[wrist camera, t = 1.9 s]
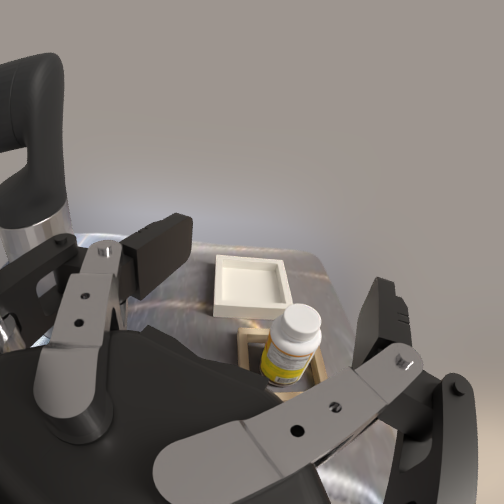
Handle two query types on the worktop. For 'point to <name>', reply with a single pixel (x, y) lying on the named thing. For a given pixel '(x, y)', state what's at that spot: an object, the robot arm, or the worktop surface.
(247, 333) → the square wooden frame
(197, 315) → the worktop surface
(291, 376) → the supplement bottle
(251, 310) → the parts tray
